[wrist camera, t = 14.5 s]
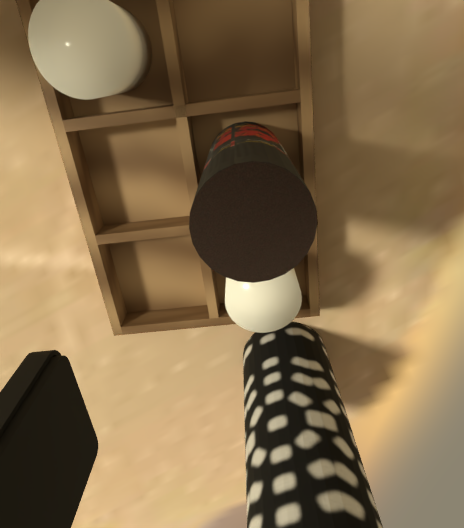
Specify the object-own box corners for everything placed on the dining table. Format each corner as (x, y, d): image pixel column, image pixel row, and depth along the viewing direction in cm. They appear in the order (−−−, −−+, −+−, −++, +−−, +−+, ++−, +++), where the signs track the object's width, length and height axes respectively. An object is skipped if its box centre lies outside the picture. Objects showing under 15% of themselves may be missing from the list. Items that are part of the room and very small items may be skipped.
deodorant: (298, 158, 32) (344, 222, 19) (246, 211, 34) (254, 304, 21) (244, 103, 31) (251, 131, 17) (193, 162, 33) (162, 229, 19)
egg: (63, 11, 28) (13, -6, 22) (143, -1, 28) (115, -22, 22) (85, 97, 31) (46, 105, 24) (159, 88, 30) (138, 93, 24)
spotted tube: (265, 398, 44) (286, 629, 26) (228, 342, 41) (221, 559, 23) (338, 369, 42) (415, 595, 24) (304, 308, 39) (364, 514, 21)
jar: (223, 234, 35) (220, 270, 29) (288, 227, 35) (299, 262, 28) (230, 291, 38) (229, 335, 31) (292, 284, 37) (303, 328, 31)
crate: (29, -18, 28) (7, -27, 25) (299, -59, 27) (306, -73, 24) (122, 317, 40) (114, 335, 37) (313, 298, 38) (319, 315, 36)
